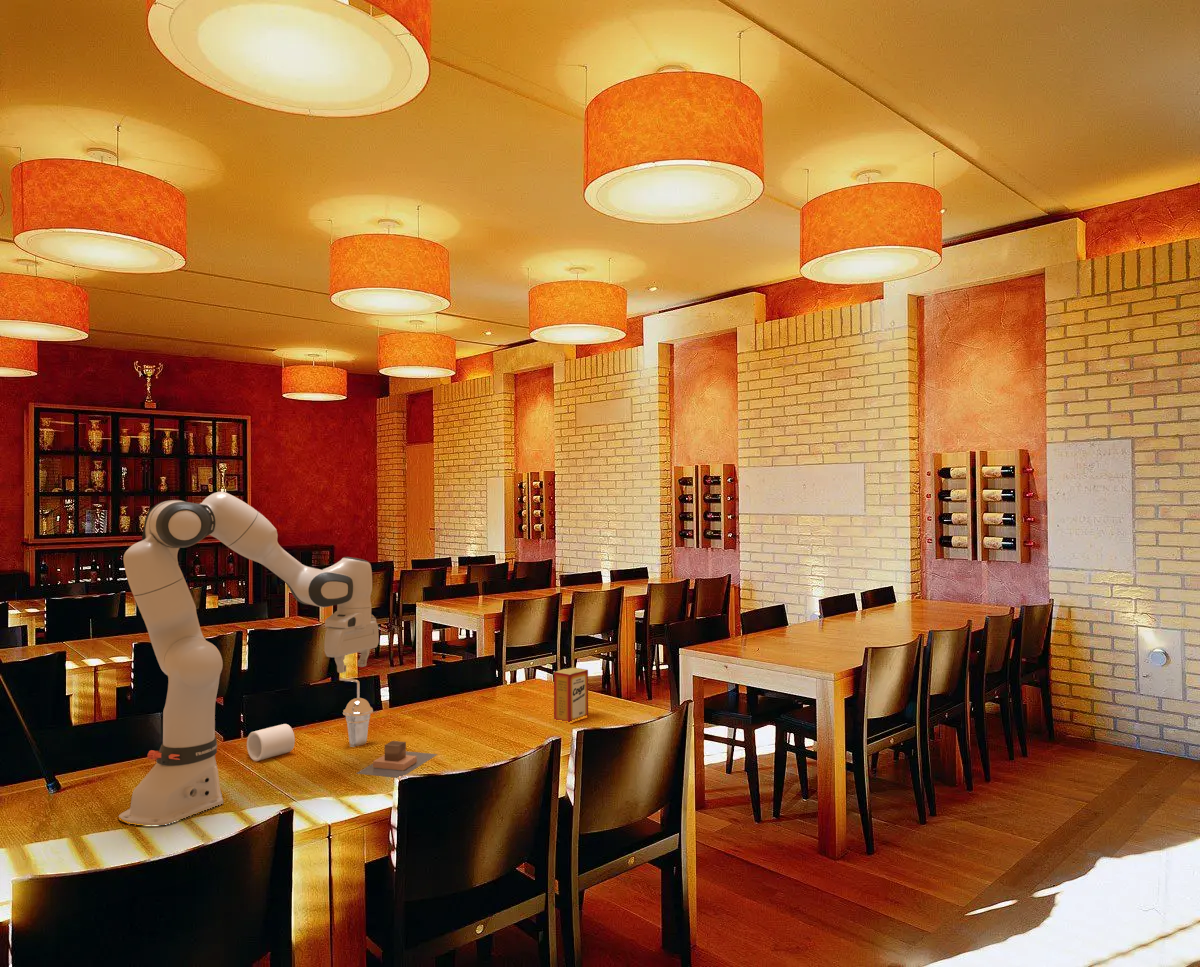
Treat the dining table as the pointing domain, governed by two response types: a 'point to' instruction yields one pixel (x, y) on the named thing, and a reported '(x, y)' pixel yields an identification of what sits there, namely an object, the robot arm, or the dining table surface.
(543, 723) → the dining table surface
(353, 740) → the cup with straw
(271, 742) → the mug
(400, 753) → the walnut cube
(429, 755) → the slate board
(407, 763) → the tile
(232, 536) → the robot arm
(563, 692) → the baking soda box
